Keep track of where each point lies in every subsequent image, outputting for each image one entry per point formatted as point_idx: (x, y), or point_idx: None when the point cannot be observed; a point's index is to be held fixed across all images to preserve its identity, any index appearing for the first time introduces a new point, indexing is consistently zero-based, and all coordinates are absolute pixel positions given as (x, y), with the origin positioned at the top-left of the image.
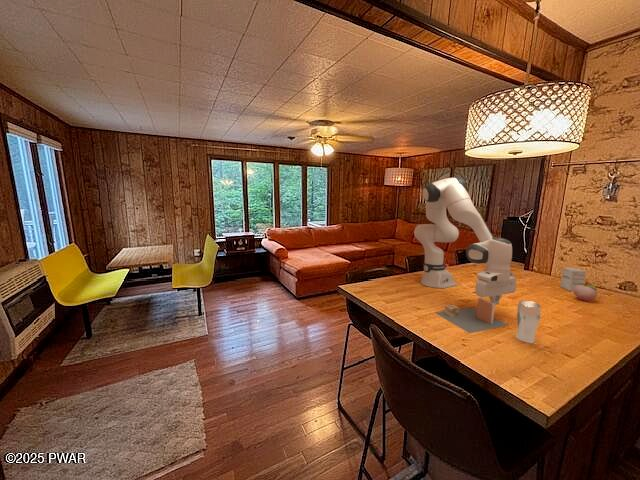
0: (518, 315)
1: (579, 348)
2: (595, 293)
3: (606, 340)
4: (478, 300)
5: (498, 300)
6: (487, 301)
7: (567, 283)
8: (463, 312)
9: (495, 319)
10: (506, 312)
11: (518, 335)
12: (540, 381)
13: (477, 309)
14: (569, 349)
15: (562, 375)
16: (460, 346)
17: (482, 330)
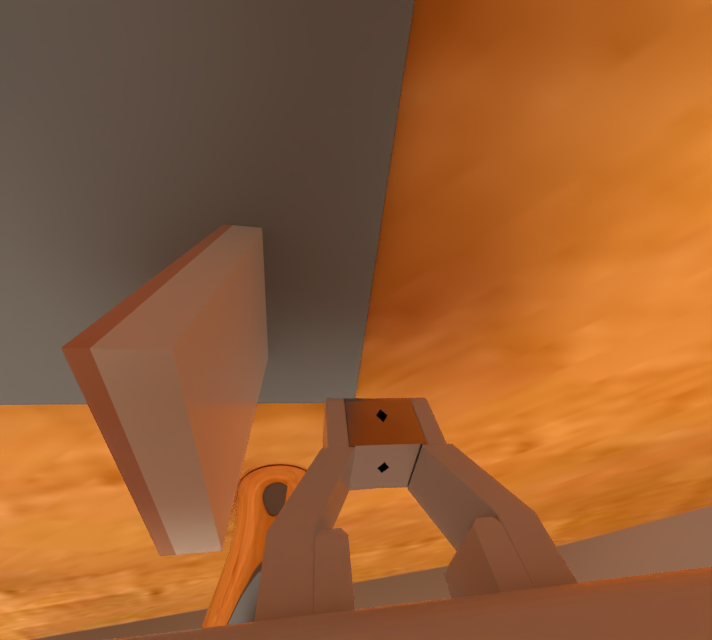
0: None
1: (410, 537)
2: None
3: (552, 523)
4: (98, 333)
5: (414, 487)
6: (175, 489)
7: None
8: (141, 39)
9: (350, 323)
10: (600, 247)
11: (236, 511)
12: (82, 602)
13: (190, 255)
14: (371, 537)
15: (184, 592)
16: None
17: (86, 403)
